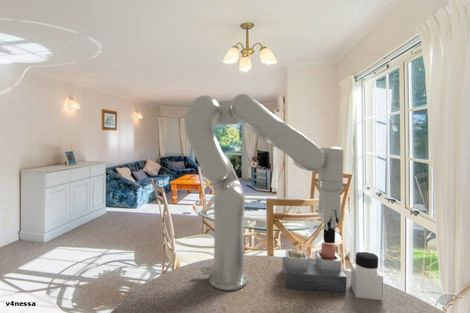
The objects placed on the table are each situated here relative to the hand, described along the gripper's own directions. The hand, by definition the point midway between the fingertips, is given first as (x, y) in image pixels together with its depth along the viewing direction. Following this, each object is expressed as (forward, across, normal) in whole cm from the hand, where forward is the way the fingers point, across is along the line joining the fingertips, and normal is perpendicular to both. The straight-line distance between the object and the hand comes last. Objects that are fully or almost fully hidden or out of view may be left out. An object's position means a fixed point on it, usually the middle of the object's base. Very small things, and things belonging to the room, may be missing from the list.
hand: (329, 242), depth 85 cm
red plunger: (+5, 0, 0) cm, 5 cm away
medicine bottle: (+13, +5, +10) cm, 17 cm away
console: (+13, 0, -5) cm, 14 cm away
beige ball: (+8, 0, -10) cm, 13 cm away
